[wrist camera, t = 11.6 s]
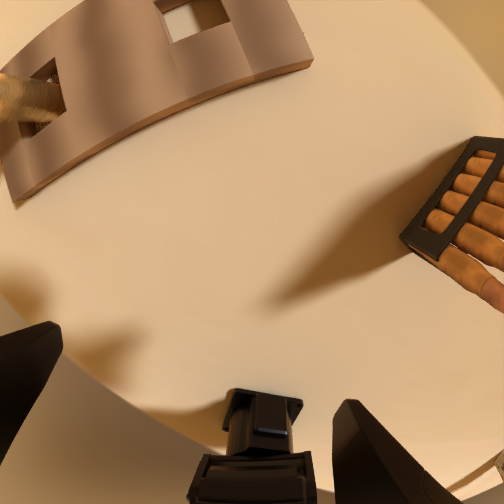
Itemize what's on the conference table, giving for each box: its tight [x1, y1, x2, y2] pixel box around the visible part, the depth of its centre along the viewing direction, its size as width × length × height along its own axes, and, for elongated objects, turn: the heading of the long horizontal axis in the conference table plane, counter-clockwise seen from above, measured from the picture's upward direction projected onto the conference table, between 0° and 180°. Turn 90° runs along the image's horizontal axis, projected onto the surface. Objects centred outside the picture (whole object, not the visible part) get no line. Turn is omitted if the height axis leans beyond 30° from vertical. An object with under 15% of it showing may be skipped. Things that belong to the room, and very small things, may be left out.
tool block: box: [0, 0, 314, 203], centre depth 15 cm, size 24×12×2 cm, turn 109°
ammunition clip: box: [399, 136, 504, 314], centre depth 12 cm, size 11×2×12 cm, turn 142°
